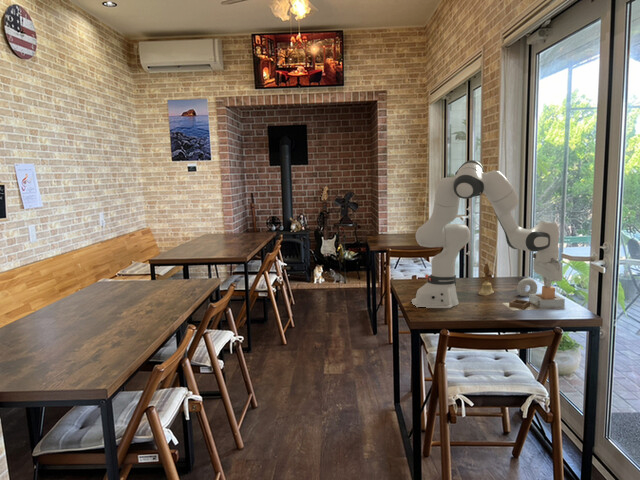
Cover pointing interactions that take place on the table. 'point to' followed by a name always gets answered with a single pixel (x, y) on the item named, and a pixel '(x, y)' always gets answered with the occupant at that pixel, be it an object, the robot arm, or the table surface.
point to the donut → (523, 283)
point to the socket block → (546, 301)
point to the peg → (548, 292)
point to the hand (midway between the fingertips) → (547, 286)
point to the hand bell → (486, 283)
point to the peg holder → (519, 304)
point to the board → (525, 308)
